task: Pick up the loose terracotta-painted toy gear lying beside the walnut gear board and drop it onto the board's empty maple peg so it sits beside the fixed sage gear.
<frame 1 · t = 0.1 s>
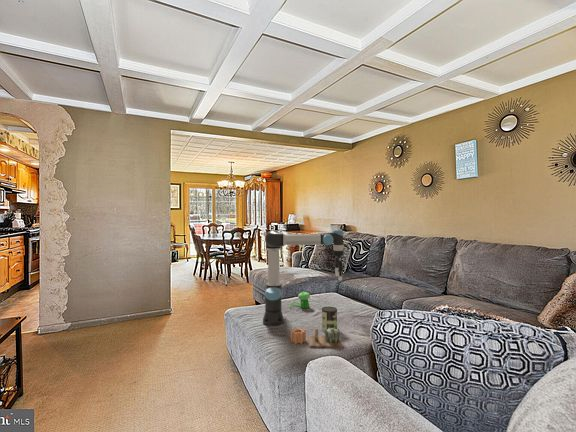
hand: (338, 278, 229), 28 cm above the table, fingers open, 13 cm apart
gear board: (324, 342, 182), on the table
coffee can: (329, 330, 201), on the table
toy character: (299, 307, 248), on the table
loose gear: (298, 340, 185), on the table
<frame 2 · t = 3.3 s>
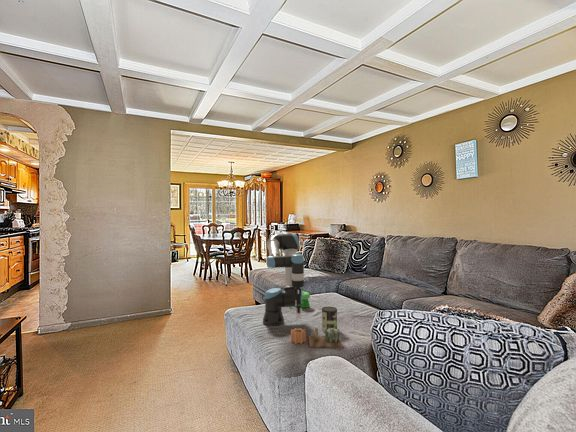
hand: (298, 314, 185), 16 cm above the table, fingers open, 13 cm apart
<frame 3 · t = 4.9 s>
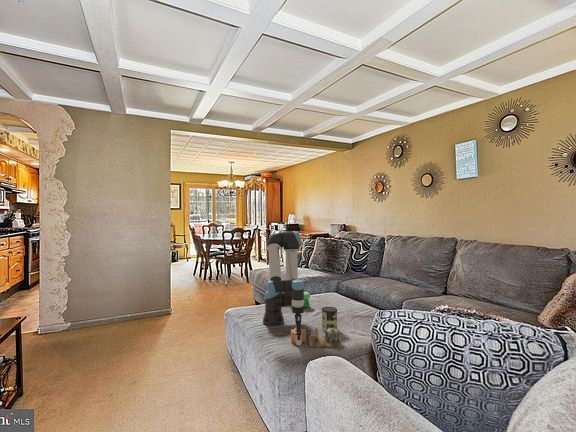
hand: (298, 340, 185), 0 cm above the table, fingers open, 13 cm apart
nothing on the table moved.
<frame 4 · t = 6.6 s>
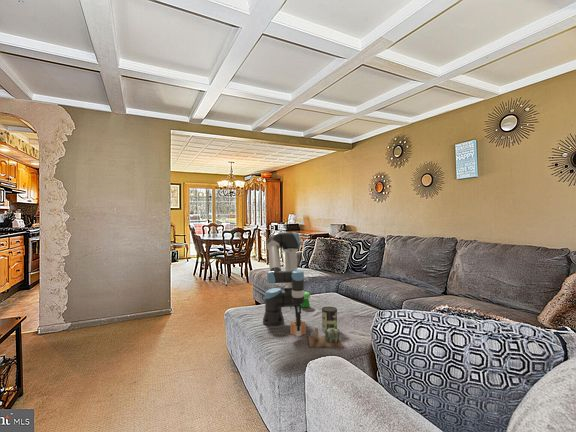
hand: (298, 332, 186), 5 cm above the table, fingers closed on loose gear, 9 cm apart
loose gear: (298, 332, 186), point 5 cm above the table, touching gripper
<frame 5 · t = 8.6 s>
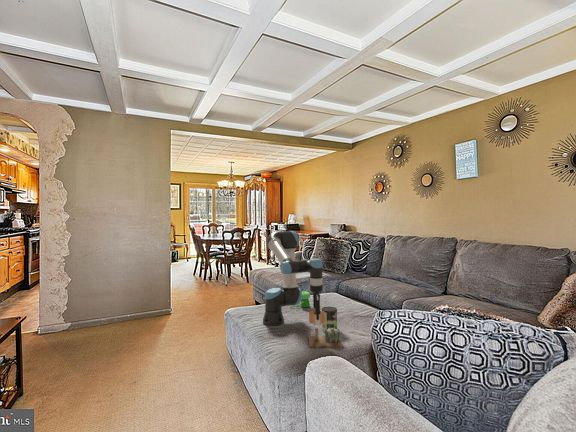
hand: (316, 321, 182), 13 cm above the table, fingers closed on loose gear, 9 cm apart
loose gear: (316, 322, 182), point 12 cm above the table, touching gripper
when the fingers open (3 cm above the table, at t = 11.0 s): loose gear drops 2 cm, resting on gear board.
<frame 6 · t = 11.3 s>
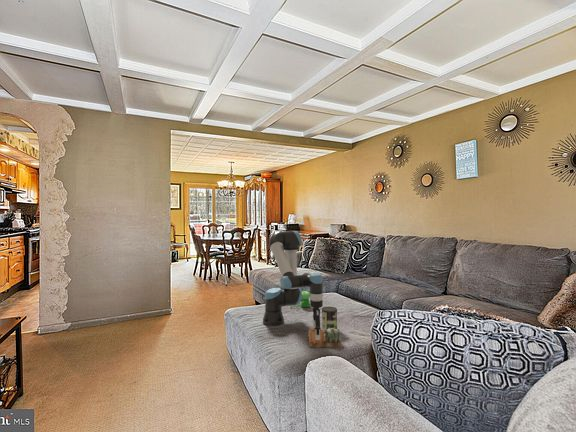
hand: (316, 335, 182), 4 cm above the table, fingers open, 12 cm apart
loose gear: (316, 340, 182), point 1 cm above the table, touching gear board
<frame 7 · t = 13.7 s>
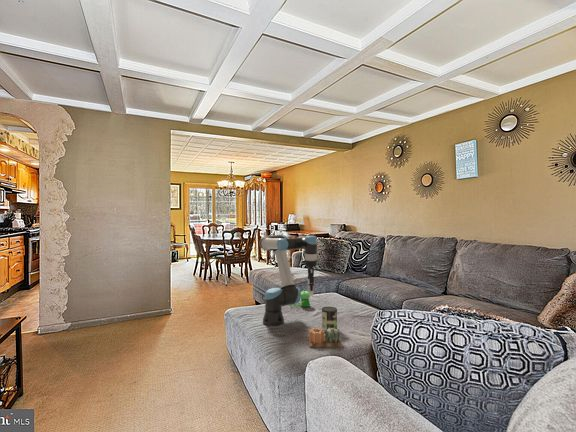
hand: (310, 292, 196), 27 cm above the table, fingers open, 13 cm apart
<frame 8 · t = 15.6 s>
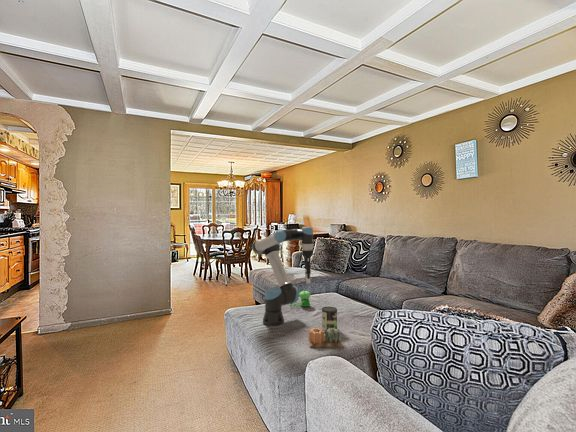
hand: (307, 280, 206), 32 cm above the table, fingers open, 13 cm apart
at the end: loose gear 0.1 cm from the target spot on the gear board, point 1.2 cm above the gear board's base; loose gear tilted 0°; the gripper is holding nothing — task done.
